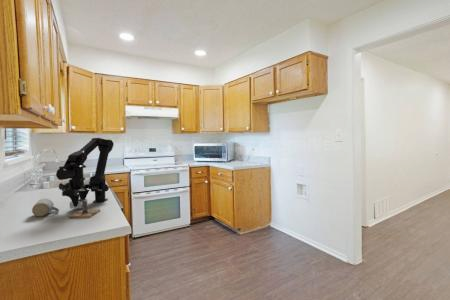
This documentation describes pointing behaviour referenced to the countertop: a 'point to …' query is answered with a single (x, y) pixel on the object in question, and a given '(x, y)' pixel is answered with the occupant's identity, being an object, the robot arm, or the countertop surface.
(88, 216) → the keeper
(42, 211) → the ceramic mug
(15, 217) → the countertop surface
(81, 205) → the grey square socket
